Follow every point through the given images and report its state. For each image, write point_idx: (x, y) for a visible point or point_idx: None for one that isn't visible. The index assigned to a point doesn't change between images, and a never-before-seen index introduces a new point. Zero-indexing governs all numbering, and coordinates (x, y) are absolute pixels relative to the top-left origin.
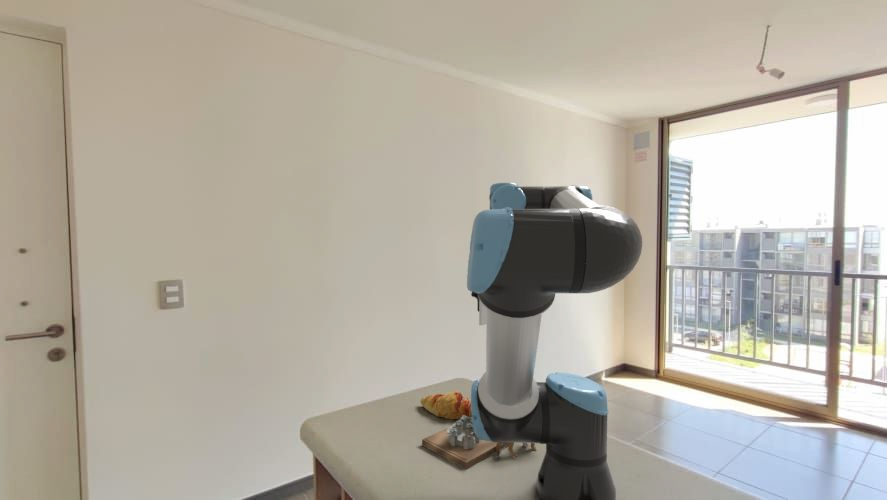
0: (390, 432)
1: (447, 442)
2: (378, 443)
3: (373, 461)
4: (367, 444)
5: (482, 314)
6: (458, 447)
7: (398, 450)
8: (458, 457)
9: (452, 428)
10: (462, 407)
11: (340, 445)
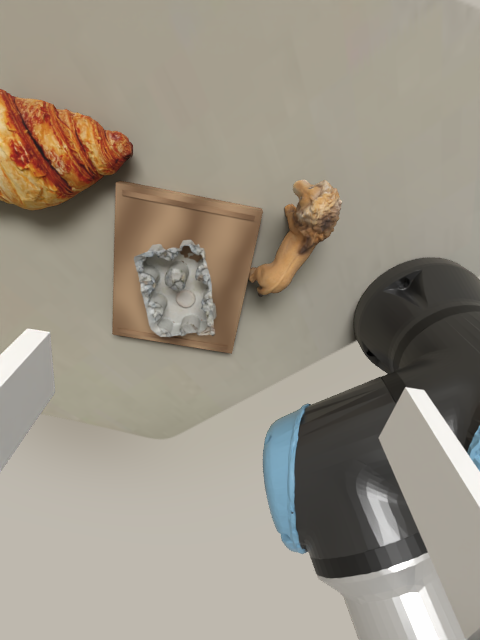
0: (26, 322)
1: None
2: None
3: (98, 401)
4: None
5: (12, 443)
6: None
7: (98, 361)
8: (210, 348)
9: (155, 316)
10: (79, 184)
11: None
